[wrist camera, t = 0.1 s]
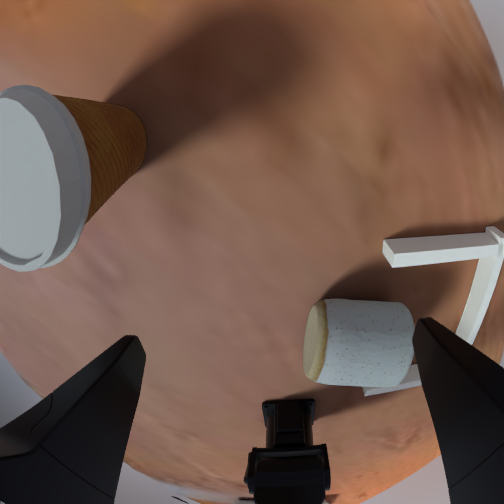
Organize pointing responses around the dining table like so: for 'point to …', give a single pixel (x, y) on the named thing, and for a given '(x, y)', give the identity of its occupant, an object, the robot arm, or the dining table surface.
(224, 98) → the dining table surface
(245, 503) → the square plate
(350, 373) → the ceramic mug
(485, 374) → the robot arm
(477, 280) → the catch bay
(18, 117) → the disposable coffee cup
